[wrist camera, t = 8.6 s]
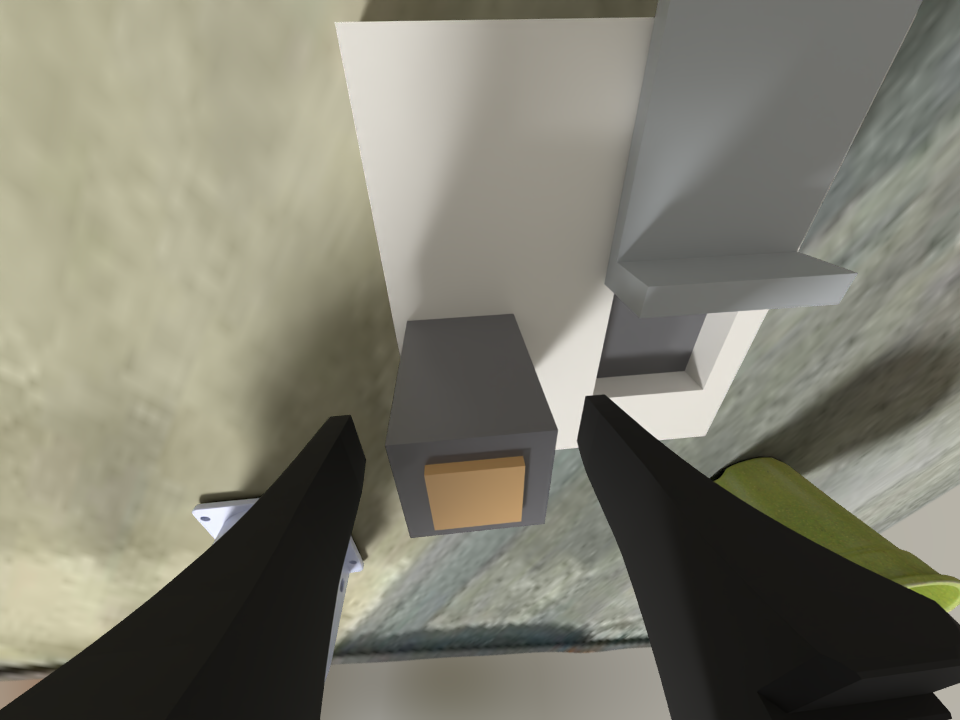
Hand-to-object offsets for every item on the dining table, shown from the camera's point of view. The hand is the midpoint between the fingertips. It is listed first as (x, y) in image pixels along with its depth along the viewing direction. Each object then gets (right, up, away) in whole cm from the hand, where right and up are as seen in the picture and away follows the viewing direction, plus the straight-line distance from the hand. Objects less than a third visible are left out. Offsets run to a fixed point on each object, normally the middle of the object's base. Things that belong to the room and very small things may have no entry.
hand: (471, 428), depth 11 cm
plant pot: (+19, -7, +14) cm, 25 cm away
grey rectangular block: (0, +2, +3) cm, 4 cm away
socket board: (+4, +5, +4) cm, 8 cm away
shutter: (+8, +8, 0) cm, 11 cm away
